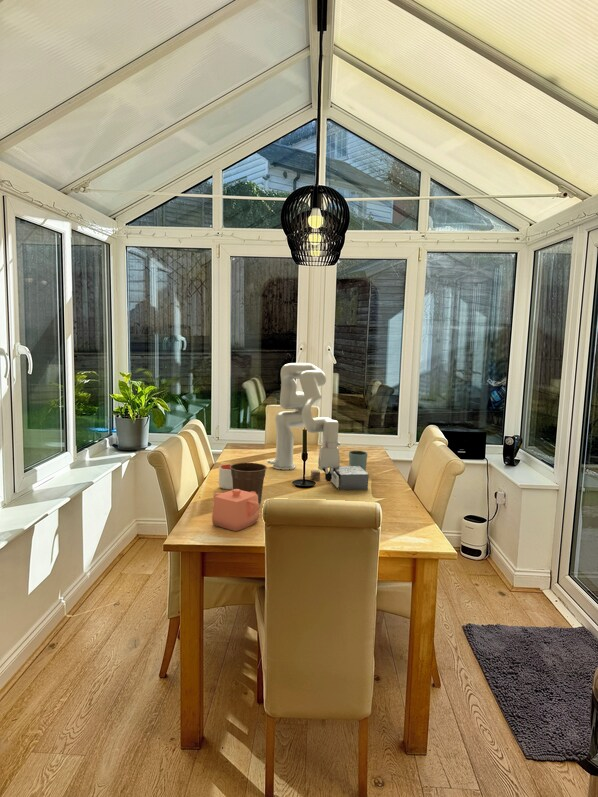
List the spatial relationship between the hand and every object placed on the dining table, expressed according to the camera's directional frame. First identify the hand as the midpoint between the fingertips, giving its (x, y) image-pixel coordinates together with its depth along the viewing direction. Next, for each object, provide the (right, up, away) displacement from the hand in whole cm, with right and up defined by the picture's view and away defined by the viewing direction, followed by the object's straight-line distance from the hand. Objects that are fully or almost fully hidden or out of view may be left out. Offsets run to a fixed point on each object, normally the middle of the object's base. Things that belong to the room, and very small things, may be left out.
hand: (328, 480), depth 271 cm
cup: (-48, -2, -8) cm, 49 cm away
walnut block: (-6, -1, +12) cm, 14 cm away
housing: (+11, -3, +2) cm, 11 cm away
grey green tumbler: (+17, 0, +26) cm, 31 cm away
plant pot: (-37, -5, -29) cm, 48 cm away
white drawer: (+9, -1, +2) cm, 9 cm away
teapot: (-38, -8, -55) cm, 67 cm away
